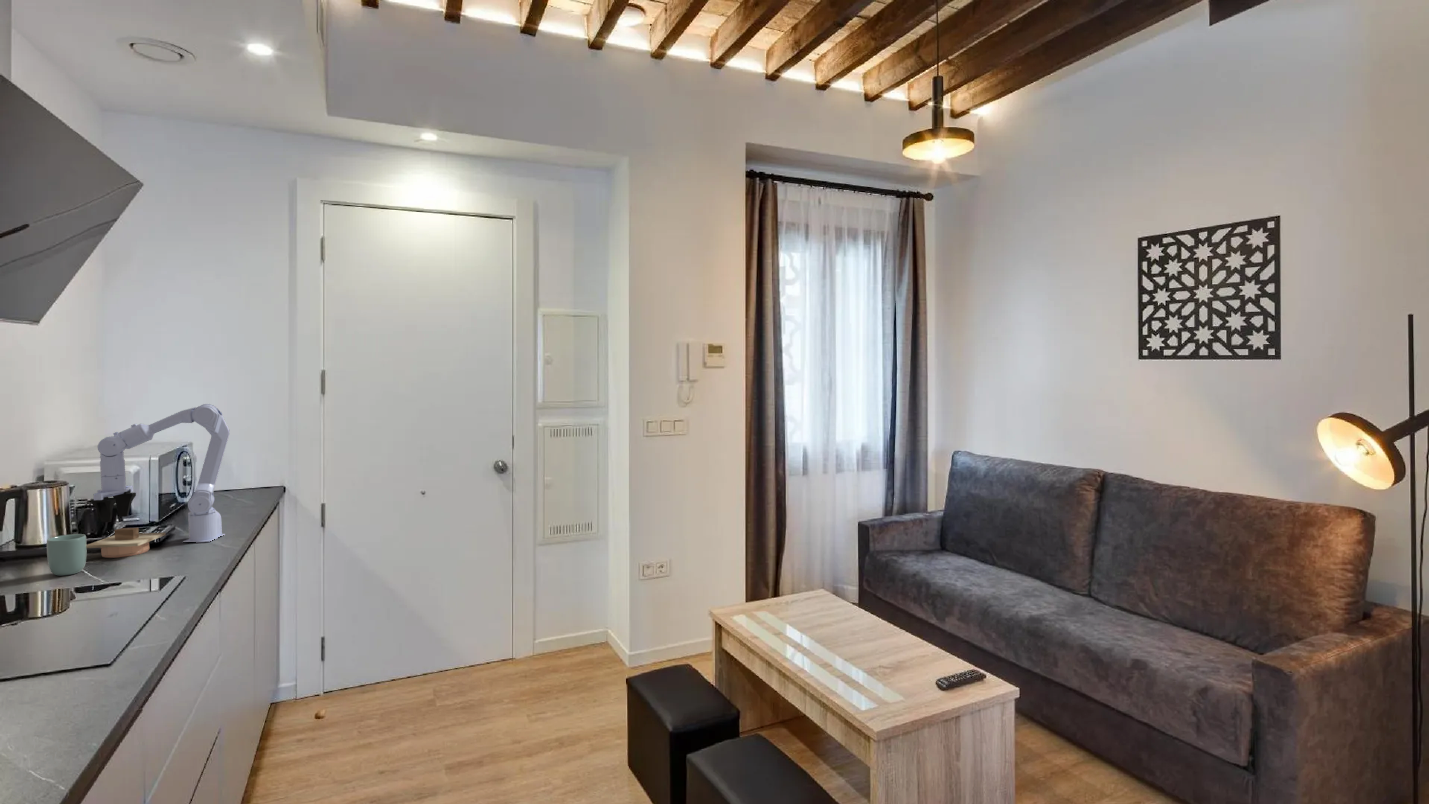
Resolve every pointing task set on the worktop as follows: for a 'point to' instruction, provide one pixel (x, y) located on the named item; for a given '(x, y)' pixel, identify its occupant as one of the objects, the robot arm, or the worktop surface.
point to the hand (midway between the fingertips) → (115, 519)
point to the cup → (67, 554)
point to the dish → (124, 551)
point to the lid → (126, 538)
